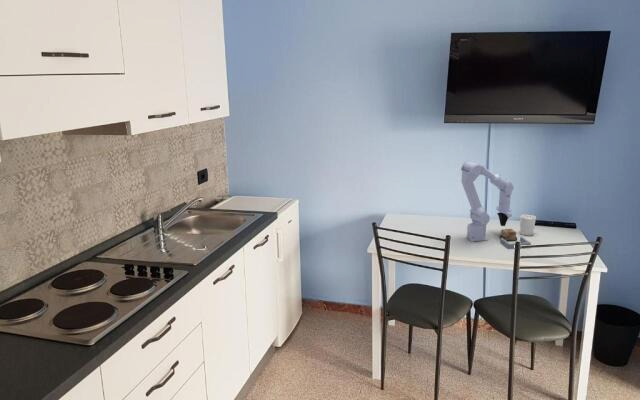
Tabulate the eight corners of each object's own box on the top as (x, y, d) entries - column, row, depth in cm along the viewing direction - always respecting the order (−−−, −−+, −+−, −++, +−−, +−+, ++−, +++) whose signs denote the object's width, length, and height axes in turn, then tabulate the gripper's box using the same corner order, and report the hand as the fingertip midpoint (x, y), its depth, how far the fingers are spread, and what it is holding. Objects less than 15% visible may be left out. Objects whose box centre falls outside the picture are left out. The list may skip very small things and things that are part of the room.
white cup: (525, 236, 272) (526, 219, 269) (515, 232, 279) (517, 215, 276) (537, 235, 274) (538, 218, 271) (527, 230, 281) (529, 213, 278)
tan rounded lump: (503, 241, 266) (504, 232, 264) (499, 238, 271) (500, 229, 269) (516, 240, 266) (517, 231, 265) (512, 237, 271) (513, 228, 270)
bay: (508, 248, 256) (508, 244, 255) (500, 242, 265) (500, 238, 264) (530, 247, 257) (530, 243, 256) (521, 241, 266) (522, 236, 265)
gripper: (517, 205, 264) (515, 229, 268) (505, 198, 278) (504, 221, 282) (505, 206, 263) (503, 230, 267) (493, 199, 277) (492, 221, 281)
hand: (502, 225), depth 274 cm, fingers closed
